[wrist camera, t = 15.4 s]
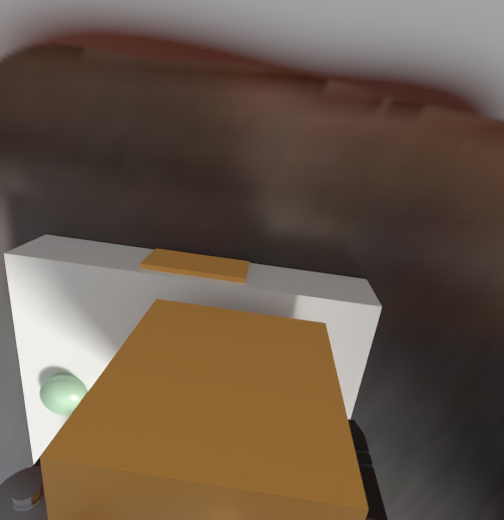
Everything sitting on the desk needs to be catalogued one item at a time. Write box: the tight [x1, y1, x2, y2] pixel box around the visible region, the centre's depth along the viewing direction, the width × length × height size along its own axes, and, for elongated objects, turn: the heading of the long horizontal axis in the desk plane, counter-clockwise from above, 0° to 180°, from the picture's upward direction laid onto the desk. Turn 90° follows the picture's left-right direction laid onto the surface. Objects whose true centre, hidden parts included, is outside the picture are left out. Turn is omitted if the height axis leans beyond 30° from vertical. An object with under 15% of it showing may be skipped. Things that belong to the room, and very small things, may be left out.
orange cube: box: [40, 299, 369, 520], centre depth 10 cm, size 6×6×6 cm
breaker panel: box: [4, 234, 382, 464], centre depth 17 cm, size 14×19×3 cm
